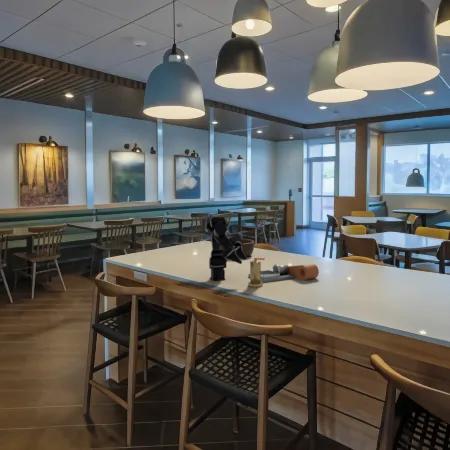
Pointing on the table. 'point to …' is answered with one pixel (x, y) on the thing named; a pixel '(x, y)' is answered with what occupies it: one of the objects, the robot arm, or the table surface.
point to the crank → (304, 271)
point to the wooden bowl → (245, 247)
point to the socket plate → (276, 274)
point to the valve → (255, 273)
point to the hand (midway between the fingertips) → (243, 261)
